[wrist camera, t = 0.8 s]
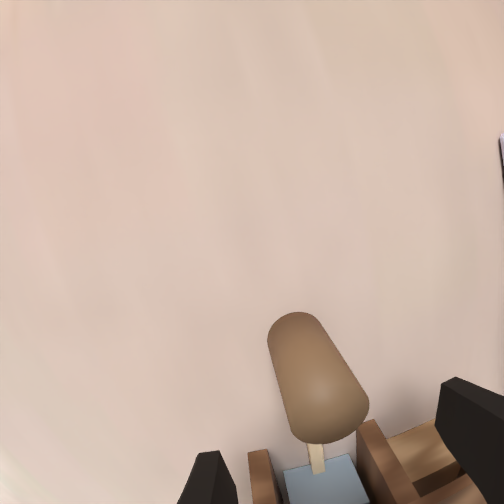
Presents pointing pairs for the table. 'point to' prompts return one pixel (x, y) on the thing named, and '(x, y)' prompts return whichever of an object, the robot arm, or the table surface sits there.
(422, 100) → the table surface
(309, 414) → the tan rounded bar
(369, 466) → the walnut shelf
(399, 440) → the oak block
